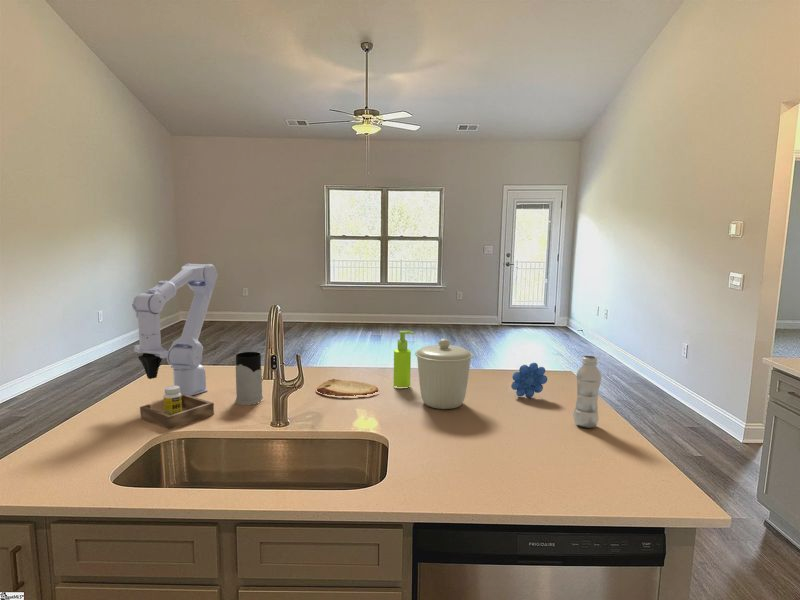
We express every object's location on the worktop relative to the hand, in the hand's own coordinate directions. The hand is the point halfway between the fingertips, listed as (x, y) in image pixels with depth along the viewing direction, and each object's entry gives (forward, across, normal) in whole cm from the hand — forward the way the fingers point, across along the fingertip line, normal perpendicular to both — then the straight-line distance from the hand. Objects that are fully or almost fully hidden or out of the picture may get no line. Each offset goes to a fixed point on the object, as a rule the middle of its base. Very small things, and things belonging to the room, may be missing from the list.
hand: (152, 377), depth 148 cm
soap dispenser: (+10, +51, +62) cm, 80 cm away
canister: (+10, +71, +54) cm, 89 cm away
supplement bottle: (+10, +10, 0) cm, 14 cm away
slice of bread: (+10, +38, +46) cm, 61 cm away
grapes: (+10, +91, +76) cm, 119 cm away
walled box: (+9, +12, 0) cm, 15 cm away
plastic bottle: (+10, +113, +60) cm, 128 cm away
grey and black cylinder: (+10, +18, +24) cm, 31 cm away
